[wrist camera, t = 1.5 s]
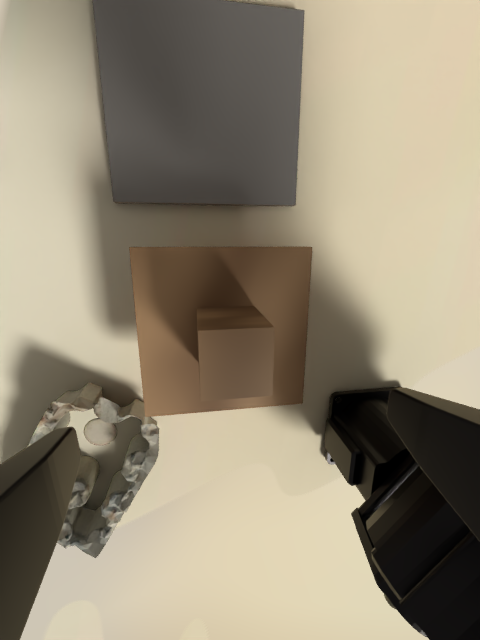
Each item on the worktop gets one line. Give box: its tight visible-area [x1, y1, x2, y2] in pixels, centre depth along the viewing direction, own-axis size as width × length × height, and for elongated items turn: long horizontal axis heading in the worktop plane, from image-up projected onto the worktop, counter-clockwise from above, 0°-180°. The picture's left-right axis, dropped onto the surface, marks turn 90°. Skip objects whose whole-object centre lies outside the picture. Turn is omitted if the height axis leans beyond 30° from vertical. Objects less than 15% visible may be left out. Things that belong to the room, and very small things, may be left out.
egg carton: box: [27, 383, 159, 558], centre depth 20 cm, size 11×8×4 cm
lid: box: [129, 247, 312, 417], centre depth 14 cm, size 9×9×5 cm
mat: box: [93, 0, 304, 206], centre depth 17 cm, size 11×10×1 cm
